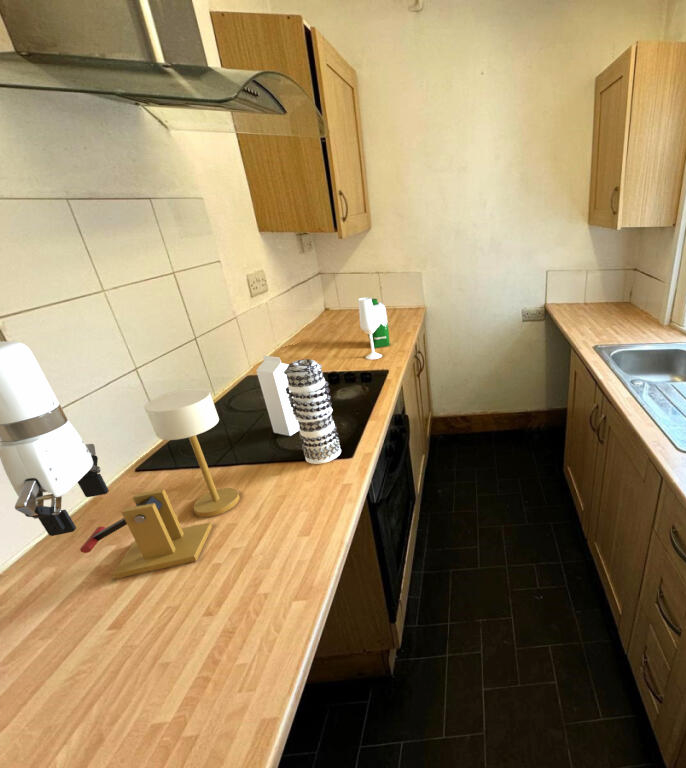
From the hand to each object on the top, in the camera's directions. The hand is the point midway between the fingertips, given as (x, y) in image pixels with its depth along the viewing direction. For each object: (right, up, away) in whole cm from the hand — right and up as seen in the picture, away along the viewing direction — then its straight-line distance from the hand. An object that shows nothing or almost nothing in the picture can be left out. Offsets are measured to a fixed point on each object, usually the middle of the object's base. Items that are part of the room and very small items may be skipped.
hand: (81, 512), depth 70 cm
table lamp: (+9, -4, +19) cm, 22 cm away
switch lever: (+5, -4, +3) cm, 7 cm away
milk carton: (+13, +39, +117) cm, 123 cm away
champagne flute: (+15, +33, +103) cm, 109 cm away
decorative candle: (+24, +3, +36) cm, 44 cm away
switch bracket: (+8, -9, +7) cm, 14 cm away
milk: (+9, +9, +48) cm, 50 cm away
